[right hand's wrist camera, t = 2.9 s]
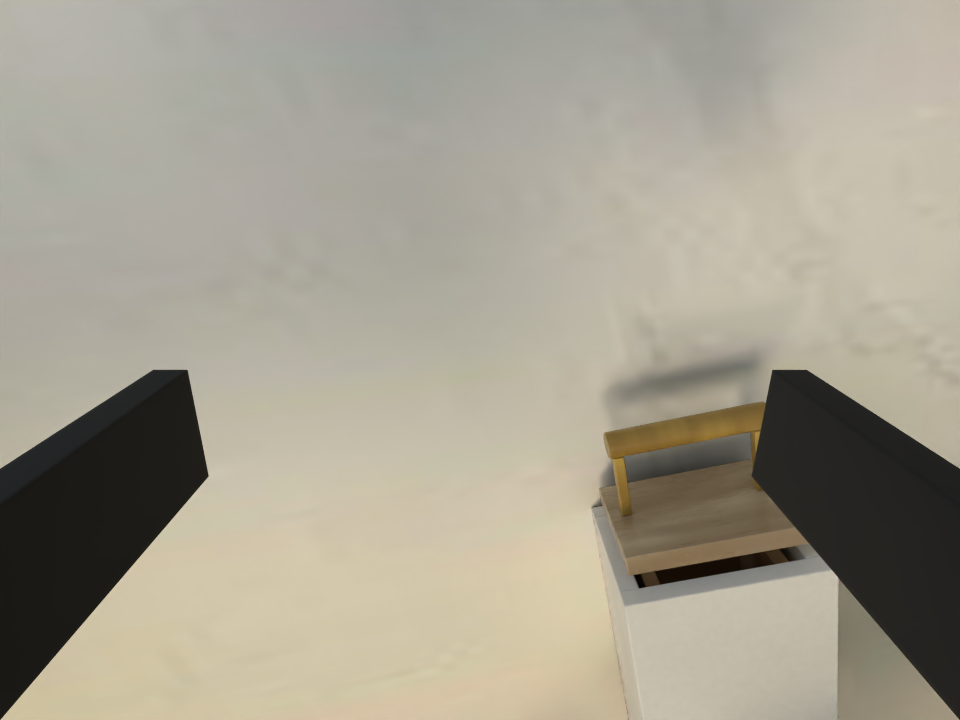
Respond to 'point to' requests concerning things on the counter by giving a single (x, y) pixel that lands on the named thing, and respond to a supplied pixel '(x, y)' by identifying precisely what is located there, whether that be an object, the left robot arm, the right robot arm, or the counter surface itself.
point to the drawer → (693, 504)
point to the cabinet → (726, 639)
